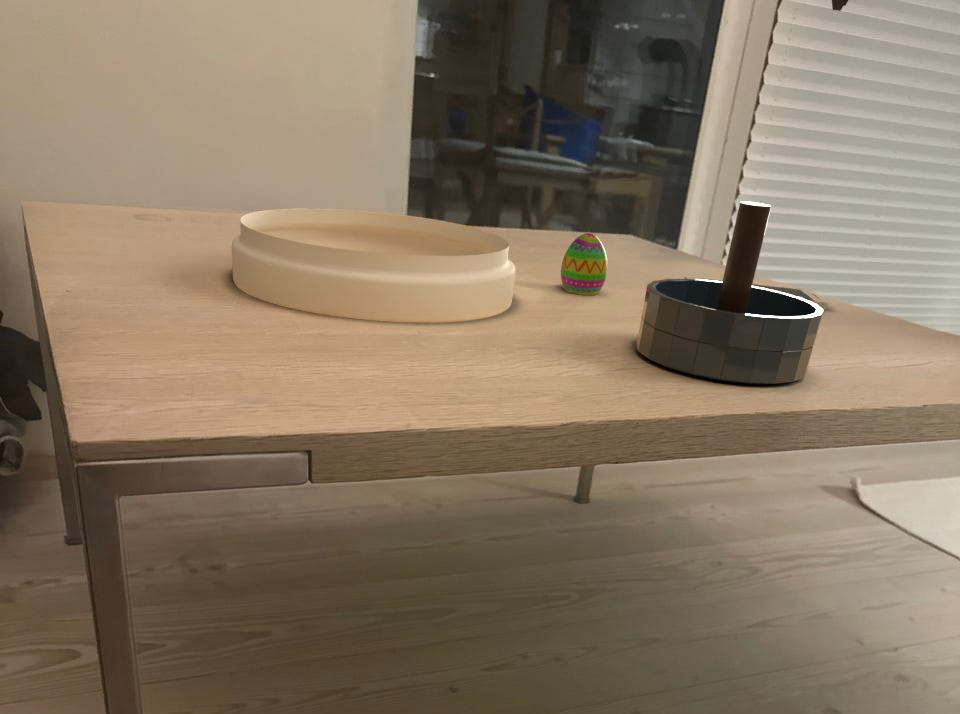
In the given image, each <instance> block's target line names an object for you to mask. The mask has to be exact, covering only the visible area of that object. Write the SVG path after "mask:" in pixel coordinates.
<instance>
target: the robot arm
mask: <svg viewBox="0 0 960 714" xmlns="http://www.w3.org/2000/svg"><path fill="white" fill-rule="evenodd" d="M848 2H849V0H831V7H832V11H834V12H835V11H836V12H841V11H842V9H843V8H844V7H846V6H847V3H848Z"/></svg>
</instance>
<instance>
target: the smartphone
mask: <svg viewBox="0 0 960 714" xmlns="http://www.w3.org/2000/svg"><path fill="white" fill-rule="evenodd" d="M684 279H699V280H712V281H721V282H722V281H723V280H721V279H720V280H719V279H711V278H702V277H694V276H684ZM752 286H755V287H760V288H764V289H769V290H773V291H778V292H782V293H786V294H789V295H793V296H796V297H800V298H803V299H805V300H807V301H810V302H812V303H814V304H817V305H818V306H819V307H820V308H822V309H823V310H824V311H825V310H827V307H828V303H829V302H828V301H827V300H825V299H824V298H823V297H821V296H820V295H818V294H817V293H816V292H815V291H812V290H808V289H801V288H800V289H799V288H790V287H782V286H773V285H765V284H756V283H753V284H752Z"/></svg>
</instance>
